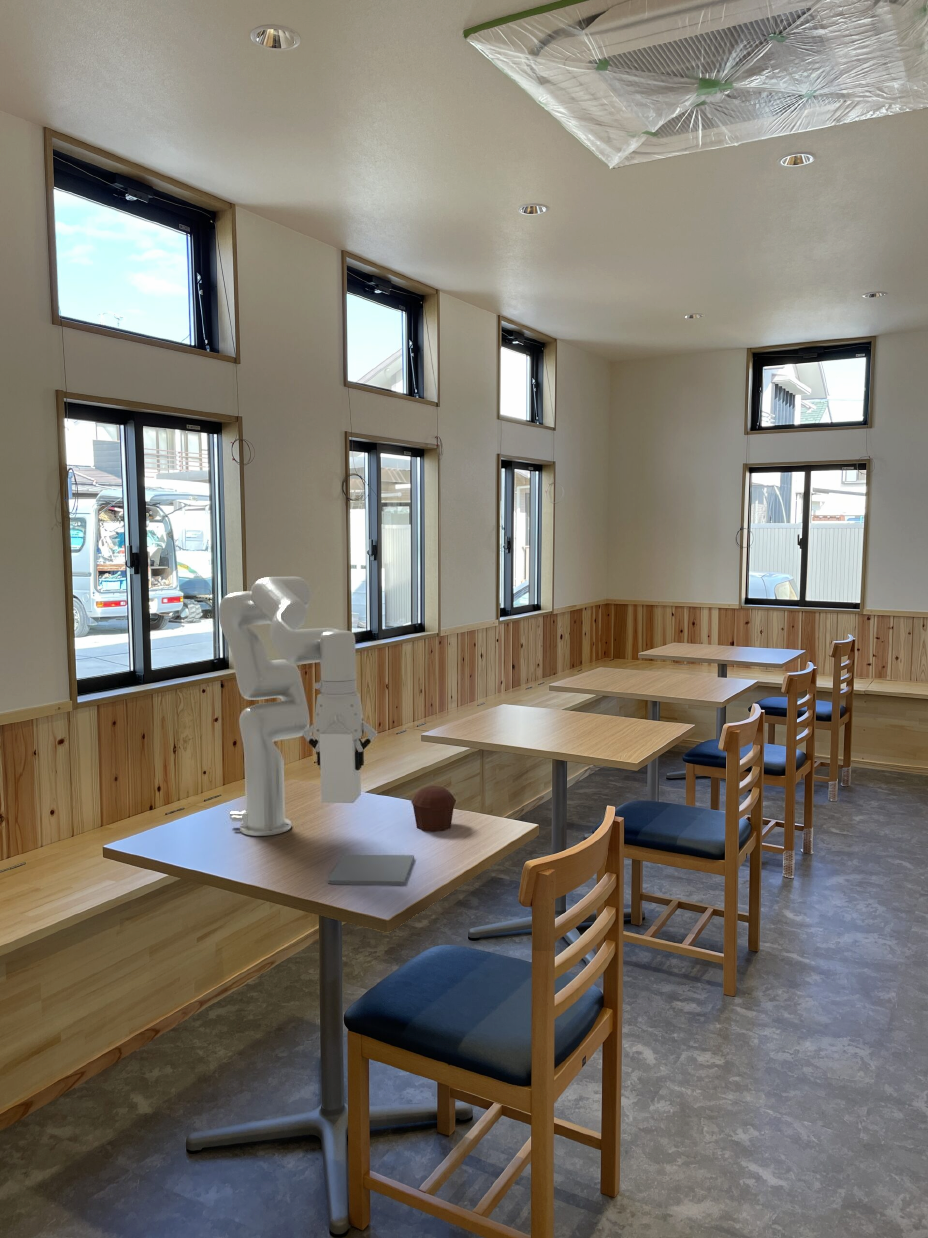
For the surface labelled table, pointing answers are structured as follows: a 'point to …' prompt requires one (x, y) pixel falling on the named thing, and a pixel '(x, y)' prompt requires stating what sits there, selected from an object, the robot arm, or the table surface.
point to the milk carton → (338, 768)
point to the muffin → (433, 808)
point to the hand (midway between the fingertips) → (340, 768)
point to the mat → (372, 869)
